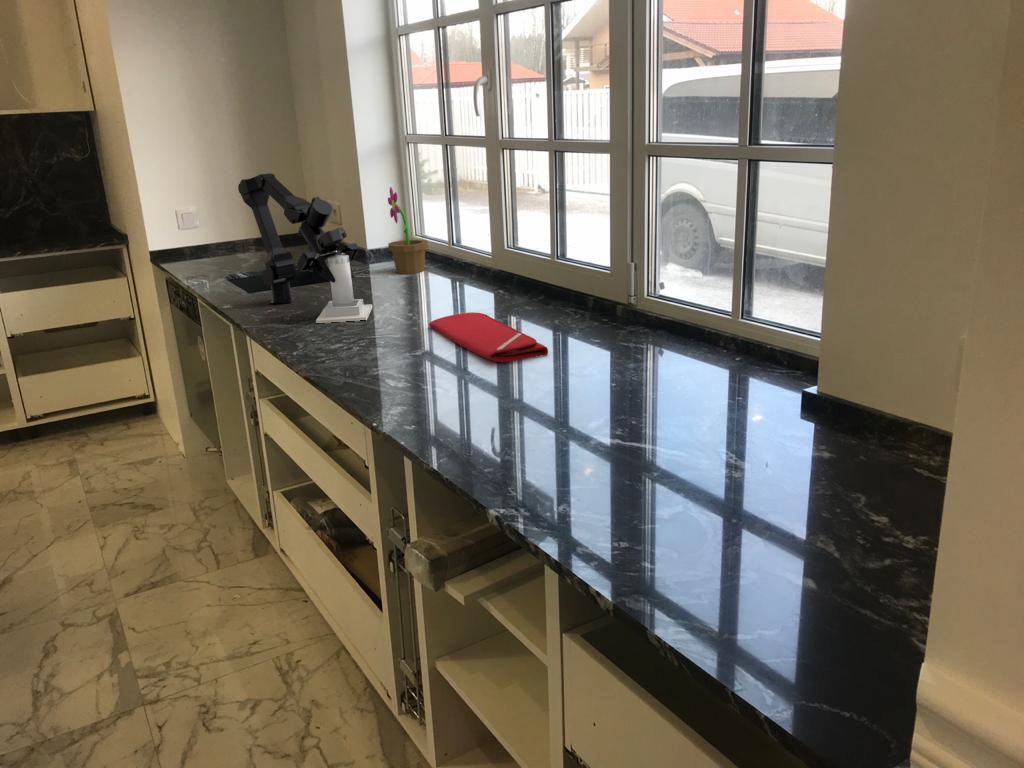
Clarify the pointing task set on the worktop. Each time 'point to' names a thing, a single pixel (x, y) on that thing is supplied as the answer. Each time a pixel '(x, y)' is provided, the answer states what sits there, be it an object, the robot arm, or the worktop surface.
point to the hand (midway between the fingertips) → (343, 279)
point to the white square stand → (344, 312)
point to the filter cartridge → (341, 279)
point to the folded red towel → (488, 337)
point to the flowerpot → (406, 245)
